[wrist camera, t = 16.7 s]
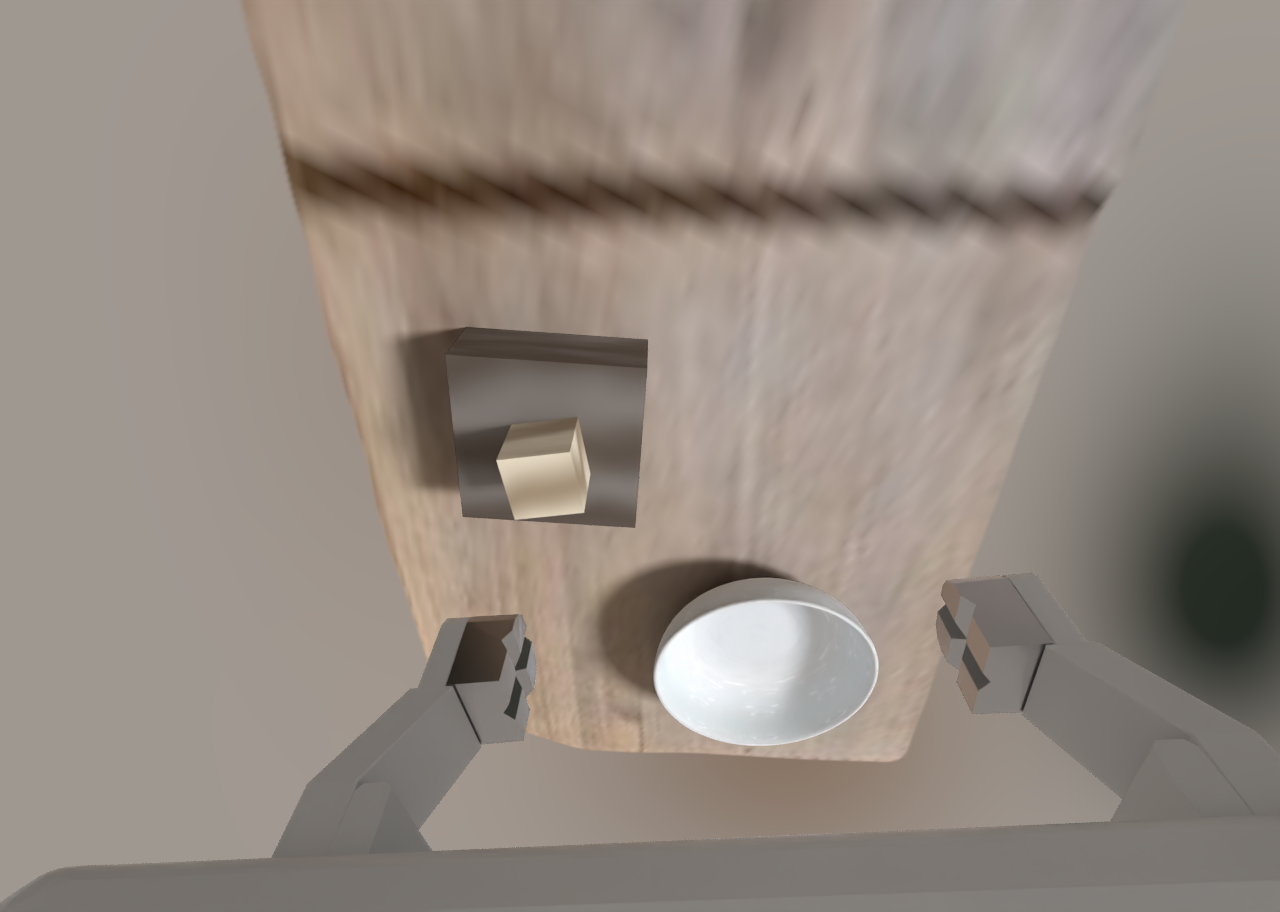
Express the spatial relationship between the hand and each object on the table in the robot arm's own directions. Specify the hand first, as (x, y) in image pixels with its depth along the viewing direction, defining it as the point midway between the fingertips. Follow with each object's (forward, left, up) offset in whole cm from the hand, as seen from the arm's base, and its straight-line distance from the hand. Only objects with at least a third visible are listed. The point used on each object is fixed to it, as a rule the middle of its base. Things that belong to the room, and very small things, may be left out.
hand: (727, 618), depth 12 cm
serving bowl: (+40, +4, -37) cm, 54 cm away
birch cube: (+13, -11, -31) cm, 35 cm away
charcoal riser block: (+13, -11, -37) cm, 40 cm away
